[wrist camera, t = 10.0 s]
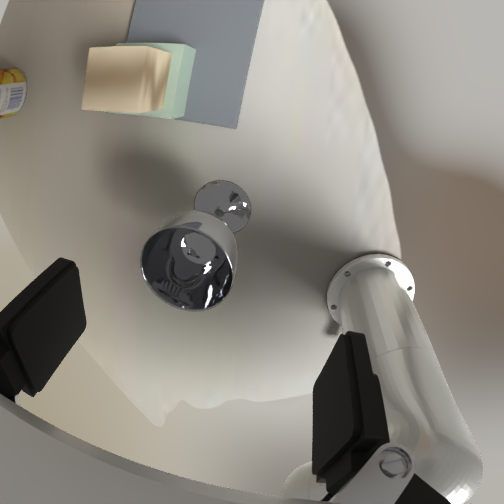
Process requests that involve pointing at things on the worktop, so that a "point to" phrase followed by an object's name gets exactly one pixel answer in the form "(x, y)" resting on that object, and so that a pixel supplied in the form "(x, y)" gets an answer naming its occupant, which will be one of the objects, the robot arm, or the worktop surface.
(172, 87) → the sage slab
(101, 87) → the maple cube
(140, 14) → the building board
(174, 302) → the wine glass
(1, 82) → the canned food
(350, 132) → the worktop surface
